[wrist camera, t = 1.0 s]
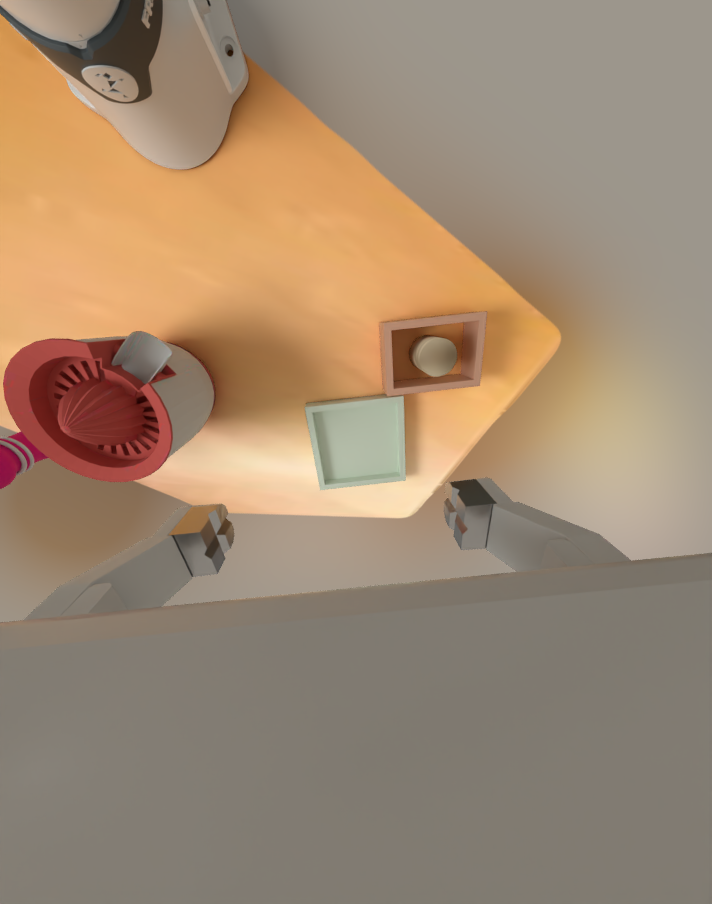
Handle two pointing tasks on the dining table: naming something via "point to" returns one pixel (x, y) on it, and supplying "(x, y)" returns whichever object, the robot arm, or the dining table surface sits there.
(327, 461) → the tray
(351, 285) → the dining table surface
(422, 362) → the beech cylinder
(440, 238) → the dining table surface
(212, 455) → the dining table surface
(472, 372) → the open square frame
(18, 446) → the pepper mill
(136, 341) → the citrus juicer
